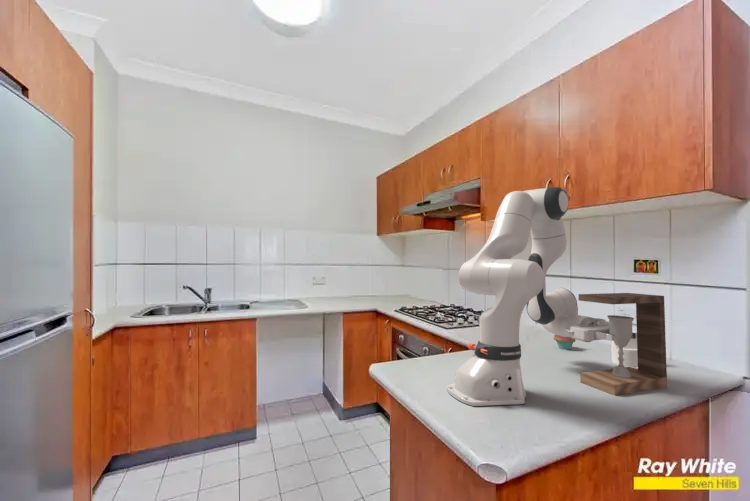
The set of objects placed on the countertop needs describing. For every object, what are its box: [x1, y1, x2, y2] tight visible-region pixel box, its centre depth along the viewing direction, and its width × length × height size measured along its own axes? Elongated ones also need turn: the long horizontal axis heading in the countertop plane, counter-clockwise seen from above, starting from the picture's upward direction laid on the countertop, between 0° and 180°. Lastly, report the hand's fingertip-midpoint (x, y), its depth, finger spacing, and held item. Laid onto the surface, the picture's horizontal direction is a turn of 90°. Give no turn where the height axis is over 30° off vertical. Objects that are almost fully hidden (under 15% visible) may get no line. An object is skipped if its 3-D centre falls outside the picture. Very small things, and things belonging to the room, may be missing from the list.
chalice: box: [607, 314, 635, 378], centre depth 103 cm, size 7×7×18 cm
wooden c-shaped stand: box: [578, 292, 668, 396], centre depth 103 cm, size 22×11×28 cm, turn 108°
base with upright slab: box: [610, 330, 638, 368], centre depth 126 cm, size 9×9×12 cm
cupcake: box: [553, 334, 577, 350], centre depth 148 cm, size 9×8×12 cm
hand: (624, 337), depth 103 cm, fingers open, 8 cm apart
